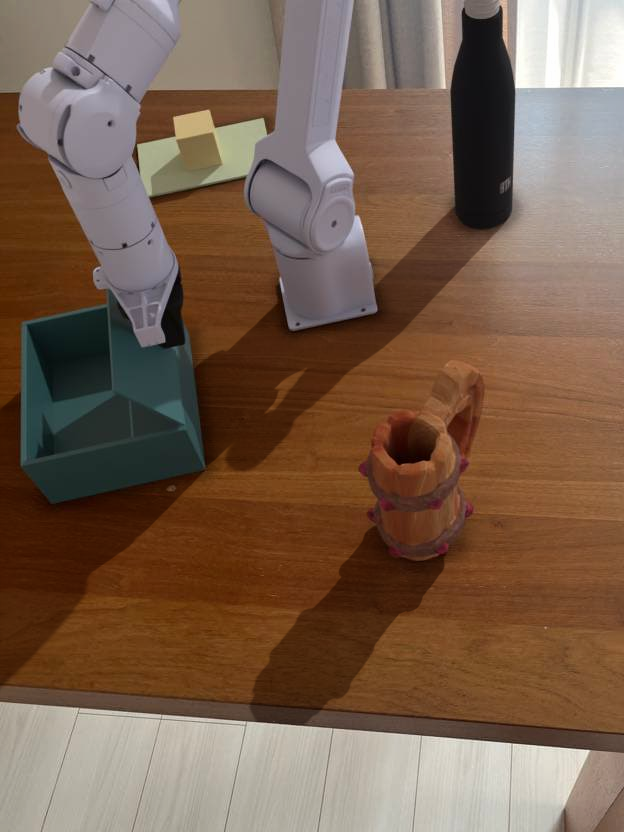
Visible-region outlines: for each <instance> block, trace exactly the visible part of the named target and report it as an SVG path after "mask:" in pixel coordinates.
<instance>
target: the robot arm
mask: <svg viewBox="0 0 624 832" xmlns="http://www.w3.org/2000/svg"><path fill="white" fill-rule="evenodd" d="M182 1H183V0H88V2H89V4H88V7H87V8H86V10H85V11H84V13H83V14H82V16H81V18H80V20H79V21H78V23H77V25H76V26H75V28H74V30H73V32H72V33H71V34H70V36H69V38H68V40H67V42H65V44H64V47H63V48H62V50H61V51H58V52H57V54H56V55H55V57H54V59H53V61H52V66H51V67H46V68H43V69H42V71H39V72H37V71H36V73H34V74H33V75H32V76H31V77H29V79H27V81H26V82H25V84H23V86H22V88H21V91H20V93H19V97H18V110H17V111H18V119H19V123H18V124H17V125H16V129H17V131H18V132H19V133H20V136H21V137H22V138H23V139H24V140H25V141H26V142H28V143H29V144H30V145H32V146H33V147H35V148H37V149H39V150H41V151H44V152H45V153H47V158H48V161H49V164H50V166H51V168H52V169H53V171H54V174H55V176H56V177H57V179H58V181H59V183H60V186H61V189H62V191H63V193H64V195H65V197H66V199H67V201H68V203H69V206H70V207H71V209H72V211H73V213H74V215H75V217H76V219H77V221H78V223H79V225H80V227H81V229H82V230H83V233H84V235H85V237H86V238H87V241H88V243H89V244H90V246H91V249H92V250H93V251H92V252H93V253H94V255H95V257H96V259H97V261H98V262H99V264H100V266H97V267H95V268H94V269H93V271H92V278H93V279H92V281H93V284H94V286H95V288H96V289H97V290H106V289H110V290H111V291H112V292H113V294H114V295H115V297H116V298H117V306H118V309H119V311H120V313H121V314H122V316H123V317H124V318H126V319H128V320H131V322H132V325H133V330H134V333H135V335H136V337H137V339H138V341H139V343H140V345H141V347H147V346H152V345H157V344H160V345H161V346H162V347H163V348H165V349H166V348H171V347H176V346H180V345H184V344H185V333H184V325H183V322H184V319H183V315H182V309H183V307H184V288H183V287H184V286H183V283H182V281H183V280H182V270H181V266H180V264H179V262H178V259H177V256H176V254H175V251H174V250H173V249H172V248H171V247H170V245H169V243H168V241H167V238H166V236H165V234H164V231H163V227H162V226H161V223H160V221H159V219H158V215H157V213H156V211H155V209H154V206H153V204H152V202H151V199H150V198H149V196H148V194H147V191H146V189H145V186H144V184H143V182H142V179H141V177H140V171H139V170H138V169H139V168H137V165H136V163H135V160H134V158H133V156H132V155H133V153H134V149H135V146H136V141H137V121H138V119H139V117H140V115H141V111H140V110H141V107H142V104H140V103H141V101H142V100H143V98H144V97H145V95H146V94H147V92H148V90H149V89H150V87H151V85H152V83H153V82H154V81H155V79H156V77H157V76H158V74H159V72H160V71H161V69H162V68H163V66H164V64H165V63H166V61H167V59H168V58H169V56H170V54H171V53H172V51H173V49H174V48H175V47H176V45H177V43H178V41H179V40H180V38H181V36H182V27H181V22H180V21H181V20H180V15H179V5H180V3H181V2H182ZM354 3H355V0H285V8H284V9H285V10H284V19H283V20H284V21H283V30H282V42H281V55H280V65H279V77H278V88H277V98H276V111H275V120H274V121H275V122H274V131H272V132H271V133H269V134H267V136H265V137H263V138H262V139H260V140H259V141H257V142H256V144H255V151H254V159H253V163H252V166H251V168H250V171H249V173H248V175H247V177H245V181H244V187H243V198H244V202H245V205H246V207H247V209H248V210H249V212H251V213H252V214H253V215H255V216H256V217H259V218H262V221H263V225H264V229H265V230H266V231H267V232H268V236H269V240H270V243H271V247H272V251H273V254H274V258H275V263H276V266H277V270H278V273H279V276H280V277H278V281H279V287H280V292H281V296H282V300H283V301H282V302H283V305H284V306H283V307H284V310H285V316H286V322H287V327H288V330H290V332H295V331H300V330H305V329H308V328H309V329H310V328H315V327H318V326H322V325H328V324H332V323H337V322H342V321H346V320H350V319H355V318H360V317H363V316H368V315H374V314H376V313H377V312H378V305H377V301H376V295H375V288H374V281H373V280H375V277H374V270H373V267H372V263H371V261H370V255H369V251H368V246H367V242H366V236H365V232H364V227H363V224H362V220H361V218H360V215H358V214H357V215H356V202H355V199H354V193H353V187H354V181H355V174H354V171H353V170H352V167H351V166H350V164H349V162H348V161H347V159H346V157H345V155H344V154H343V152H342V150H341V149H340V147H339V144H338V143H337V141H336V136H337V129H338V123H339V122H338V121H339V116H340V115H339V114H340V106H341V101H342V100H341V99H342V92H343V84H344V79H345V77H344V76H345V70H346V64H347V63H346V61H347V55H348V54H347V53H348V47H349V40H350V32H351V24H352V17H353V10H354Z"/></svg>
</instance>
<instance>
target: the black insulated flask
mask: <svg viewBox="0 0 624 832" xmlns="http://www.w3.org/2000/svg"><path fill="white" fill-rule="evenodd" d="M501 2H502V1H501V0H464V1H463V8H462V10H461V42H460V45H459V47H458V48H459V49H458V51H457V55H456V59H455V62H454V64H453V69H452V76H451V82H450V83H451V84H450V90H449V93H450V113H451V114H450V118H451V142H452V144H451V145H452V166H453V189H454V212H455V216H456V218H457V220H458V221H459V222H460V223H461V224H463V225H464V226H466V227H468V228H471V229H476V230H489V229H494V228H497V227H499V226H501V225H502V224H504V223H506V221H508V219H509V218H510V217H511V214H512V212H513V196H514V165H515V164H514V163H515V162H514V158H515V129H516V128H515V127H516V126H515V125H516V124H515V123H516V122H515V121H516V86H515V85H516V84H515V77H514V72H513V66H512V61H511V57H510V55H509V52H508V49H507V46H506V44H505V40H504V38H503V36H504V35H503V34H504V33H503V32H504V29H503V28H504V9H503V7H502V5H501Z"/></svg>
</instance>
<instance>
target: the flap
mask: <svg viewBox="0 0 624 832" xmlns="http://www.w3.org/2000/svg"><path fill="white" fill-rule="evenodd" d="M105 292H106V304H107V311H108V328H109V344H110V361H111V377H112V392H113V393H115V394H117V395H119V396H121V397H124V398H126V399H128V400H130V401H132V402H134V403H136V404H138V405H140V406H142V407H144V408H146V409H148V410H150V411H152V412H154V413H156V414H159V415H161V416H163V417H165V418H167V419H169V420H171V421H173V422H175V423H177V424H179V425H181V426H183V425H184V419H183V410H182V401H181V392H180V383H179V374H178V365H177V356H176V347H171V348H166V349H165V348H163V347H162V346H161V345H160V344H157V345H152V346H147V347H141V345H140V343H139V341H138V339H137V337H136V335H135V333H134V330H133V325H132V322H131V320H128V319H126V318H124V317H123V316H122V314H121V313H120V311H119V309H118V306H117V298H116V297H115V295H114V294H113V292H112V291H111V290H110V289H105Z"/></svg>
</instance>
